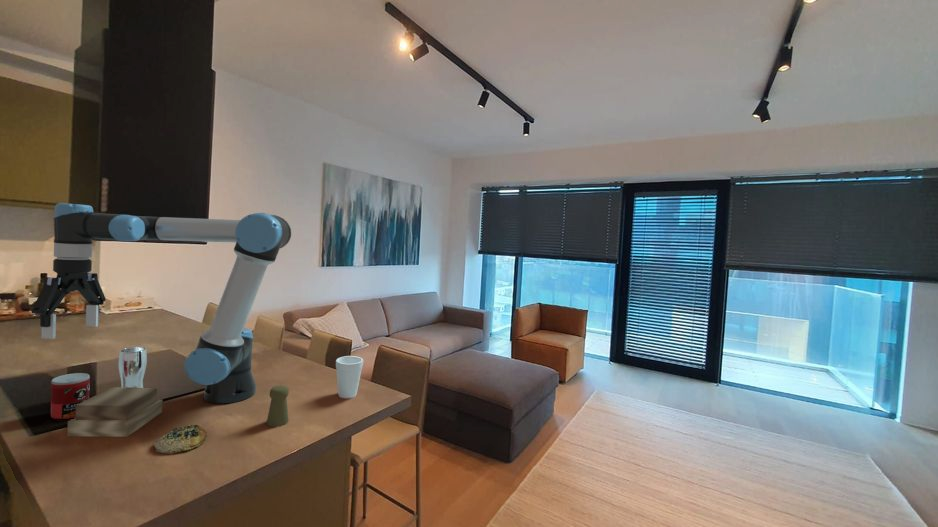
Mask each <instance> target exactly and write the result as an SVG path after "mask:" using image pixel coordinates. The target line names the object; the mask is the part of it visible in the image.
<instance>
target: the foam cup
mask: <svg viewBox="0 0 938 527" xmlns="http://www.w3.org/2000/svg"><path fill="white" fill-rule="evenodd" d="M363 367H364V359H363V358H362V357H360V356H355V355H345V356H341V357H338V358H336V360H335V370H336V380H337V392H338V397H339V398H341V399H352V398H355V397H356V396H357V393H358V389H359V384H360V379H361V374H362V369H363Z"/></svg>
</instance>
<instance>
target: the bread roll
mask: <svg viewBox="0 0 938 527" xmlns="http://www.w3.org/2000/svg"><path fill="white" fill-rule="evenodd" d="M207 438H208V435H207V431H206V429H205V428H204V427H201V426H200V425H199V424H193V425H192V424H188V425H187V426H186V425H185V426H181V427H175V428H173V429H172V430H171V431H169V432H168V433H165V434H163V435H162V436H161V435H160V437H158V439H156V440H155V442H154V443H153V446H154V449H155V453H161V454H169V455H170V454H176V453H181V452H187V451H191V450H194V449H196V448H199V447H200V446H201V445H202V444H204V442H205V441H206V440H207Z"/></svg>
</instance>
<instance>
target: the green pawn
mask: <svg viewBox="0 0 938 527" xmlns="http://www.w3.org/2000/svg"><path fill="white" fill-rule="evenodd" d="M289 392H290V391H289V387H288V386H287V385H284V384H283V385H282V384H280V385H279V384H278V385H274V387H272V388H271V389H270V390H269V398H271V400H270V405H269V408H268V409H269V410H268V414H267V420H266V426H268V427H270V426H272V427H271V428H278V427H277V426H279V427H283V426H285V425H286V424H288V423H289V420H290V419H289V412H288V401H287V400H288V399H287V398H288V395H289ZM282 425H283V426H282Z"/></svg>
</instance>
